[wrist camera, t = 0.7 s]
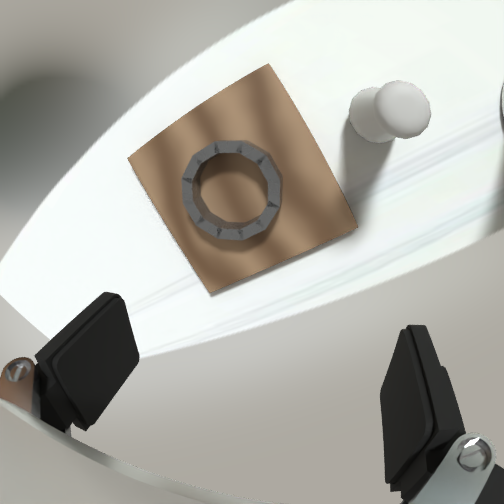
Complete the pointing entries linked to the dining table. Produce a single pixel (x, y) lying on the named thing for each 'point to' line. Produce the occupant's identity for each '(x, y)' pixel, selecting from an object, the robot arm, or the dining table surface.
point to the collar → (199, 207)
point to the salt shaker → (390, 112)
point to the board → (244, 180)
